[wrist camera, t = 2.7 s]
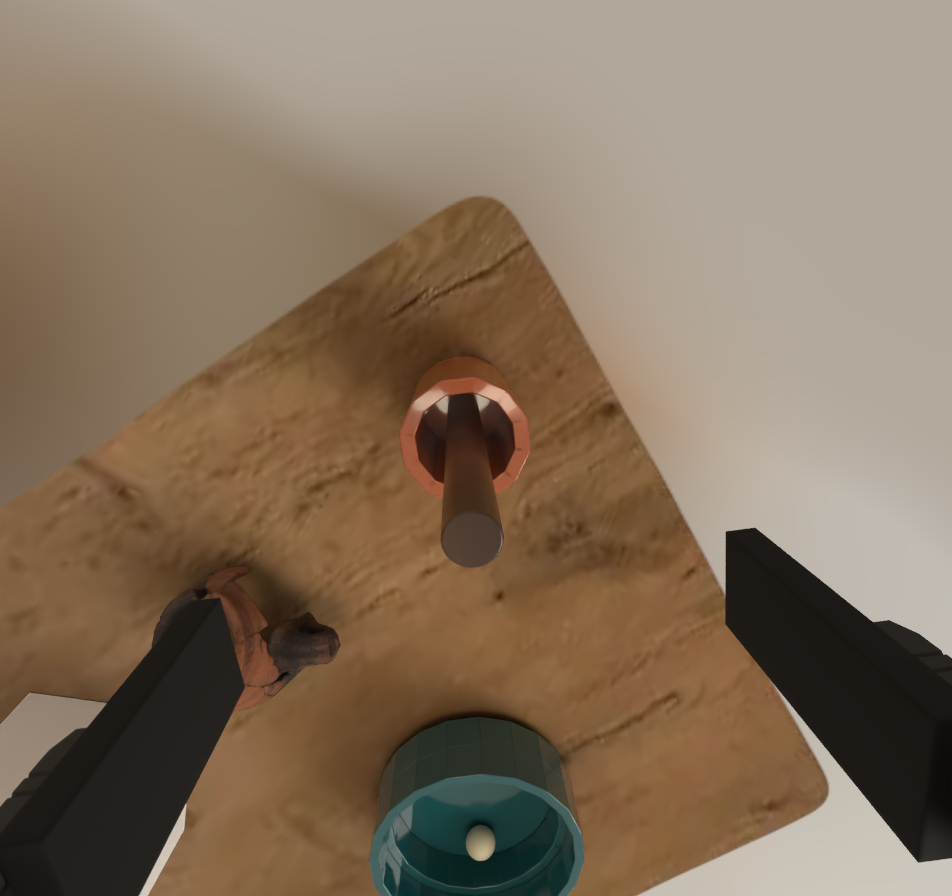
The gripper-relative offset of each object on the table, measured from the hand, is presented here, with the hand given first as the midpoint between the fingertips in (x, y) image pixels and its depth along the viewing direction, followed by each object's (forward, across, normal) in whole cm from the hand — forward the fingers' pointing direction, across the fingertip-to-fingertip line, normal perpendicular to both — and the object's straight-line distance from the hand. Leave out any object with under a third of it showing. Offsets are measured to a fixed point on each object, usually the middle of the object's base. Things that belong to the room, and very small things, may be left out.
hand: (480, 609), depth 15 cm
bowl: (+24, -3, -32) cm, 40 cm away
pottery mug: (+24, -16, -14) cm, 32 cm away
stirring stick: (+24, 0, 0) cm, 24 cm away
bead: (+23, -3, -35) cm, 42 cm away
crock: (+24, 0, 0) cm, 24 cm away
